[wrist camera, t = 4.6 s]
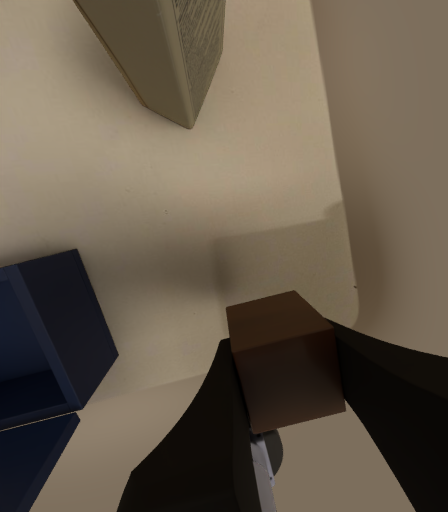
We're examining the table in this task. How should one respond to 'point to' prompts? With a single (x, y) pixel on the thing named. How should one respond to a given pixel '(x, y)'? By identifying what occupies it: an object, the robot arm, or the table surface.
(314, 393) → the block
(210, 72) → the cosmetic box
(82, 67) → the table surface
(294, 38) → the table surface
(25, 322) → the case
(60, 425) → the lid
